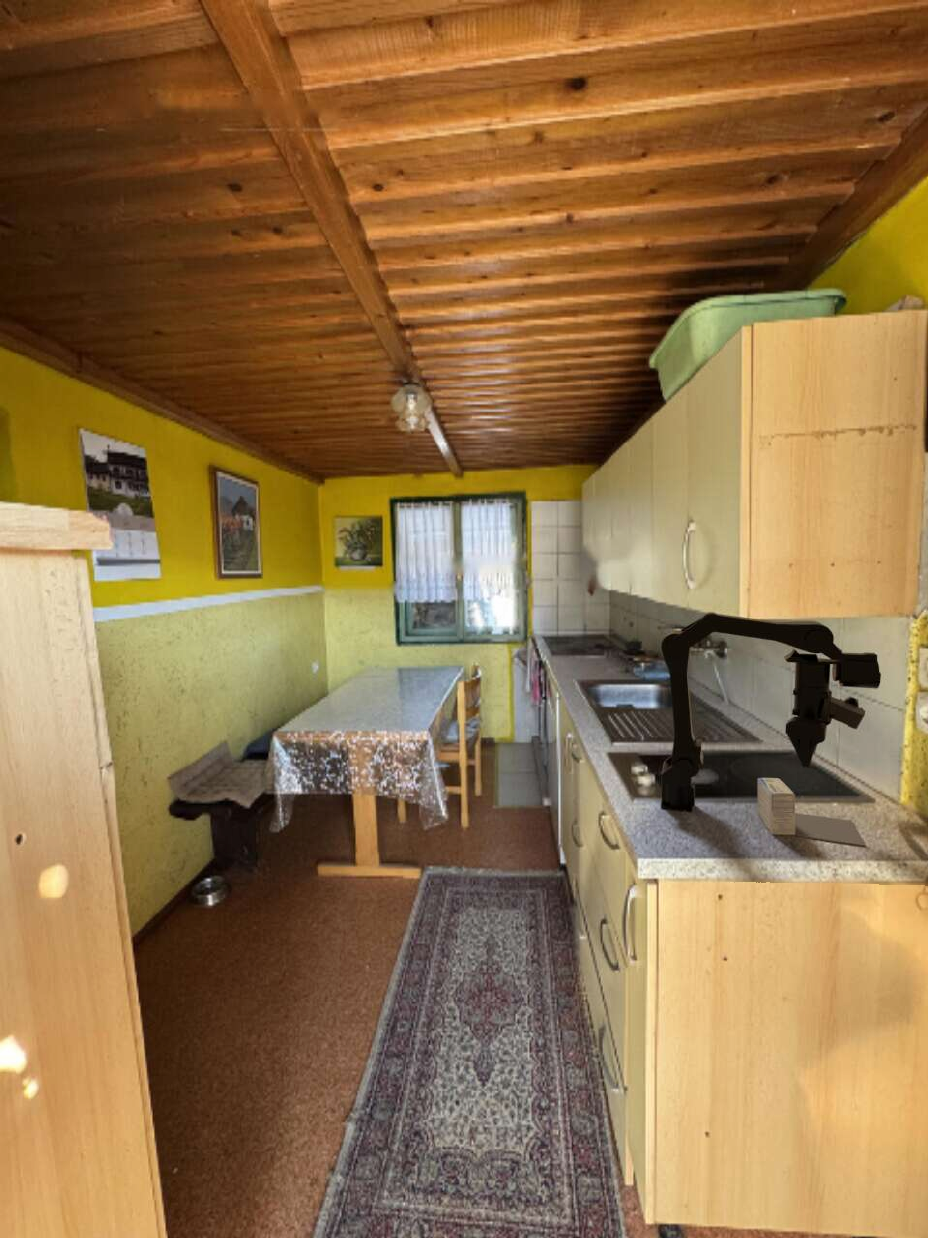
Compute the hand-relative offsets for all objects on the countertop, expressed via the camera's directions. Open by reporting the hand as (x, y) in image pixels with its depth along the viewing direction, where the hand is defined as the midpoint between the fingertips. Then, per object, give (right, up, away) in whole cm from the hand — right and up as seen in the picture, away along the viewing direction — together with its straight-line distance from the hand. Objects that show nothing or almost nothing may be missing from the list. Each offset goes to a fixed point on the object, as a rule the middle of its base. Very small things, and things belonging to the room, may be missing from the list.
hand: (808, 759), depth 102 cm
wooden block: (-6, -14, +1) cm, 15 cm away
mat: (+2, -14, -1) cm, 14 cm away
